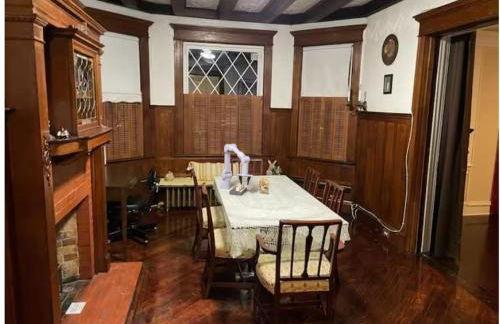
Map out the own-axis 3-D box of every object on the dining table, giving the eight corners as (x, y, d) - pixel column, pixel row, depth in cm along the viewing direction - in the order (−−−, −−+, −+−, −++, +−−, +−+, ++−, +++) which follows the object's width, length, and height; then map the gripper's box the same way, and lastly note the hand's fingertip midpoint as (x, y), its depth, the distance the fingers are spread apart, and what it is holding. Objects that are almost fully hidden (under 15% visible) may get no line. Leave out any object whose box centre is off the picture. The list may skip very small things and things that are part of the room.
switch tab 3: (240, 187, 348) (240, 184, 348) (240, 186, 351) (240, 183, 351) (243, 187, 348) (243, 184, 347) (243, 187, 350) (244, 184, 350)
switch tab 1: (235, 190, 335) (235, 187, 334) (236, 190, 338) (236, 186, 337) (239, 191, 334) (239, 187, 334) (239, 190, 337) (240, 187, 336)
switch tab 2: (238, 189, 341) (238, 186, 341) (238, 188, 344) (238, 185, 344) (241, 189, 341) (241, 186, 340) (242, 188, 344) (242, 185, 343)
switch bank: (229, 194, 335) (229, 191, 334) (235, 189, 355) (235, 186, 354) (241, 195, 332) (241, 192, 332) (246, 190, 352) (247, 187, 352)
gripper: (235, 169, 329) (235, 184, 331) (251, 171, 326) (251, 186, 328) (238, 168, 336) (237, 183, 338) (253, 169, 332) (253, 184, 335)
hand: (244, 184), depth 333 cm, fingers open, 5 cm apart
